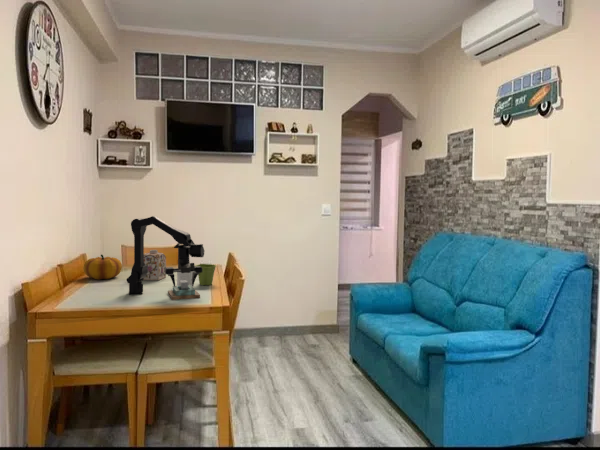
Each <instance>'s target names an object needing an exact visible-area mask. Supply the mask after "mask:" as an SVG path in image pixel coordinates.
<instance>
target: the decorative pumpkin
mask: <svg viewBox="0 0 600 450" xmlns="http://www.w3.org/2000/svg"><path fill="white" fill-rule="evenodd" d="M82 267H83V273H84V274H85V275H86V276H87V277H88V278H90V279H95V280H97V281H99V280H110V279H113V278H116V277H117V276H119V275H120V274H121V272H122V268H123V265H122V262H121V260H119V259H118V258H117V257H111V256H105V257H104V255H103V254H100V256H97V257H91V258H89V259H87V260H85V262H84V263H83V266H82Z"/></svg>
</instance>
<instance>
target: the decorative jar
mask: <svg viewBox="0 0 600 450" xmlns="http://www.w3.org/2000/svg"><path fill="white" fill-rule="evenodd" d="M144 264H145V265H148V269H147V270H148V273H147V275H146V276H145V277H144V279H143V281H157V280H158V281H161V280H163V279H165V278H166V277H167V274H165V268H166V267H167V256H166V255H165V254H164V253H163V252H159V251H158V249H150V250H149V252H145V253H144Z"/></svg>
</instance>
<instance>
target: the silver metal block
mask: <svg viewBox="0 0 600 450" xmlns="http://www.w3.org/2000/svg"><path fill="white" fill-rule="evenodd" d="M187 289H188V282H187V281H186V280H179V290H187Z"/></svg>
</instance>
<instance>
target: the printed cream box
mask: <svg viewBox="0 0 600 450" xmlns="http://www.w3.org/2000/svg"><path fill="white" fill-rule="evenodd" d="M193 272H194V271H191V272H190V273H181V272H176V278H177V279H176V286H179V280H186V281H187V282H188V285H191V286H192V274H193ZM192 287H193V288H194V285H193V286H192Z"/></svg>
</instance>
